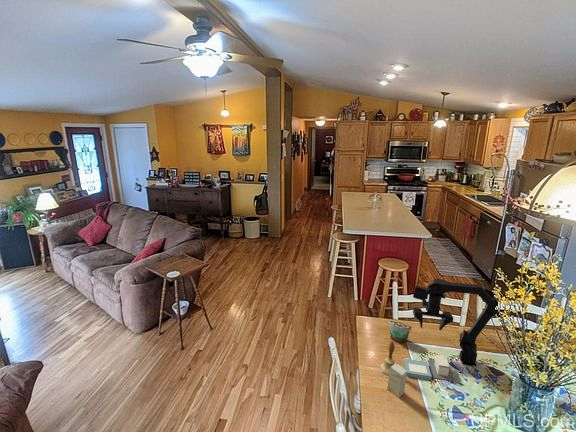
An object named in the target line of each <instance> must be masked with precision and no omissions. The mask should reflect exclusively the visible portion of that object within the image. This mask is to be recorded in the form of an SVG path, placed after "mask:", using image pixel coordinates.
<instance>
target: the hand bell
mask: <svg viewBox="0 0 576 432" xmlns="http://www.w3.org/2000/svg"><path fill="white" fill-rule="evenodd" d="M394 351H395V341H393V340H392V341H390V343H389V345H388V352H389V353H388V357H385V358H384V362H383V363H381V364H380V365H379V369H380V371H381V372H382V373H383V374H384V375H387V376H389V374H390V367H391V366H392V365H394V364H395V363H396V362H395V360H394V358H393V354H394Z"/></svg>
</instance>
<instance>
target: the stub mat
mask: <svg viewBox="0 0 576 432" xmlns="http://www.w3.org/2000/svg"><path fill="white" fill-rule="evenodd" d="M427 363H428V366H429V369H430V373H431V376H432V379H436V380H442V381H448V382H454V383H455V381H456V380H455V378H454V377H455V376H454V375H453V372H452V370H451V367H450V368H449V373H448V376H444V375H438V374H437V370H436V367H435V360H431V359H427Z"/></svg>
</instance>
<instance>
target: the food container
mask: <svg viewBox="0 0 576 432" xmlns="http://www.w3.org/2000/svg"><path fill="white" fill-rule="evenodd" d="M388 326H389V337H390V339H391V340H392V341H393V342H394V343H399V344H404V343H406V342H407V341H408V339H409V335H410V331H411V330H412V326H413V325H407V324H404V323H403V322H397V321H392V320H391V319H389V321H388Z"/></svg>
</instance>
